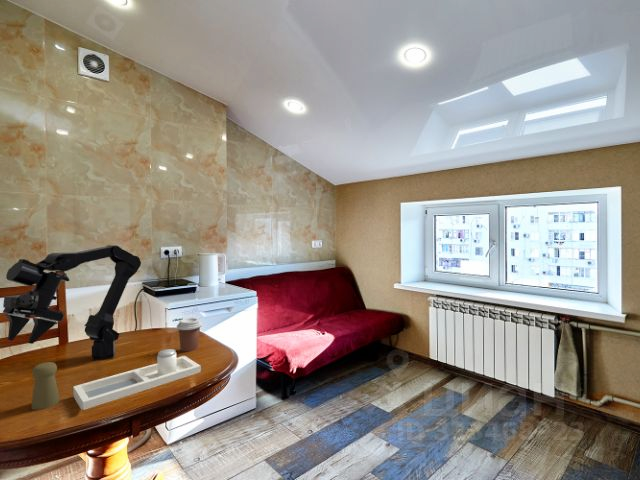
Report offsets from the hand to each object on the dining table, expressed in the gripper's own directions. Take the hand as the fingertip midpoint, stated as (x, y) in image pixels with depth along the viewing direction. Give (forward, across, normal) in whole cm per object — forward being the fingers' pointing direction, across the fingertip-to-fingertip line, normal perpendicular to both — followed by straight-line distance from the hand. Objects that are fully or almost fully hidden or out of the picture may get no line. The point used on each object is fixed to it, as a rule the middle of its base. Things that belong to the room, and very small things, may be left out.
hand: (20, 341), depth 100 cm
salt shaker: (+2, +34, +25) cm, 42 cm away
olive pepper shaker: (+14, +16, +4) cm, 22 cm away
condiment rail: (+6, +31, +19) cm, 37 cm away
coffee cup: (-6, +26, +44) cm, 51 cm away
